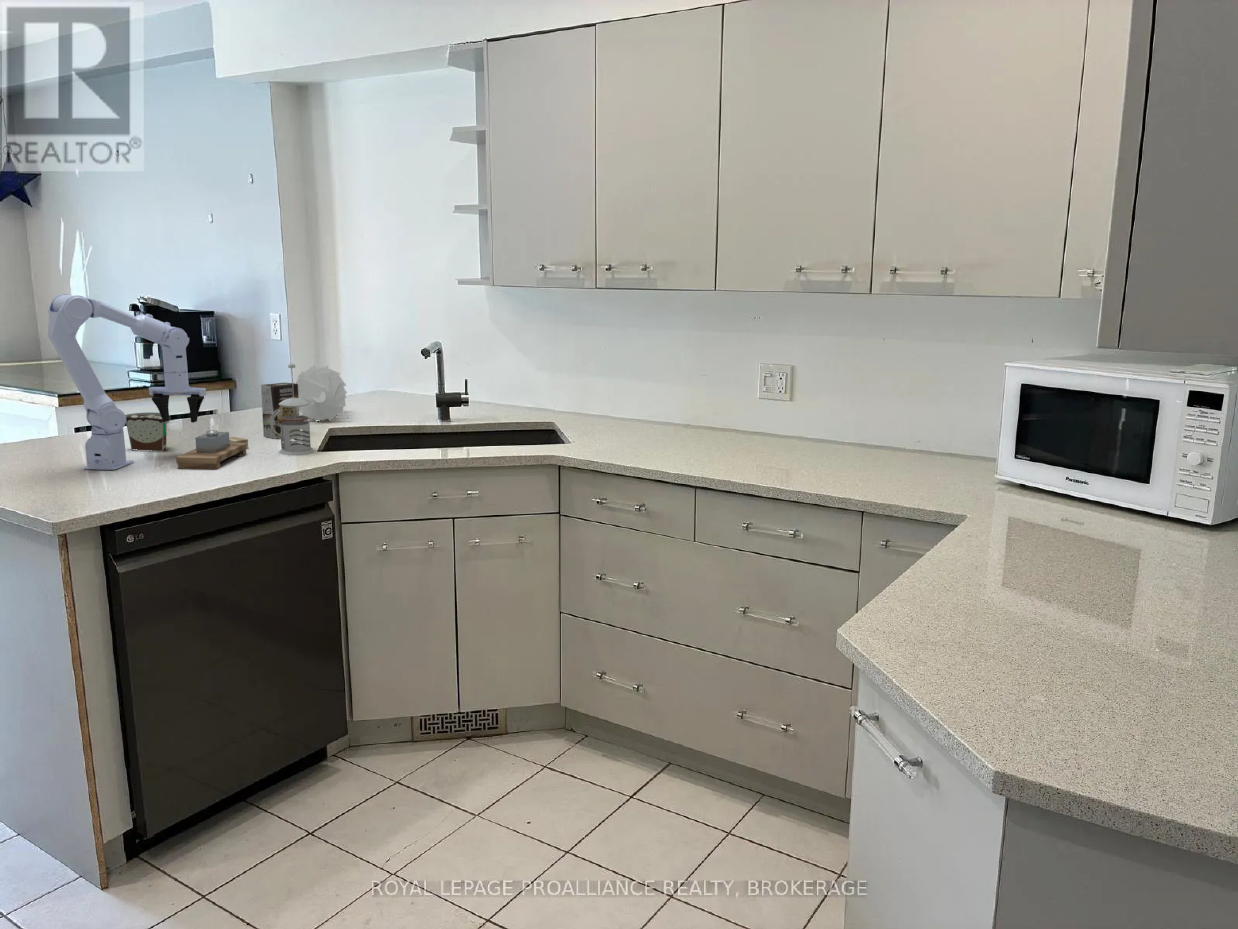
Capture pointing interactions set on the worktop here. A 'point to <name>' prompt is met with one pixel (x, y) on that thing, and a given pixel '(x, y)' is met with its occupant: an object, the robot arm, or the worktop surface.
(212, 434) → the block
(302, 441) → the french press
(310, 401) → the spiral staircase
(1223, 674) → the worktop surface
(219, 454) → the stand
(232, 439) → the beech offcut
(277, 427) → the coffee box
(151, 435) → the food container
